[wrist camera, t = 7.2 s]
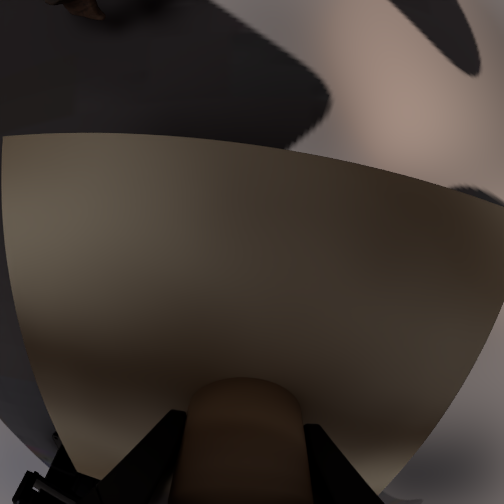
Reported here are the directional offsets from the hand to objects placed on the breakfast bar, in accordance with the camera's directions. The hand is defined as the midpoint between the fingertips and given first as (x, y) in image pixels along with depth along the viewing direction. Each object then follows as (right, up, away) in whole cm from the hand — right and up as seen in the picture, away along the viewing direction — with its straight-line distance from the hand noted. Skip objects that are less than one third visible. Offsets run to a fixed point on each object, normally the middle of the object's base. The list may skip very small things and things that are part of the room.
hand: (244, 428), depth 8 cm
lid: (0, +1, +2) cm, 2 cm away
